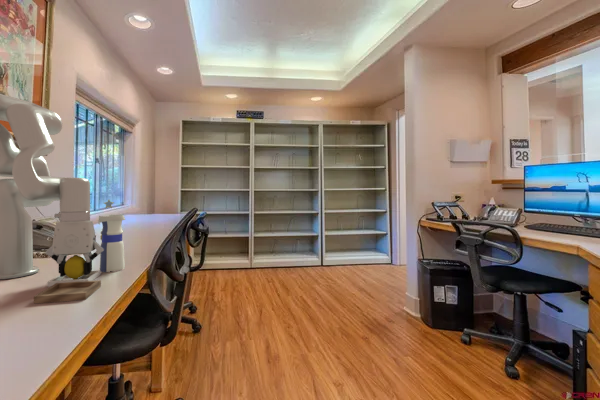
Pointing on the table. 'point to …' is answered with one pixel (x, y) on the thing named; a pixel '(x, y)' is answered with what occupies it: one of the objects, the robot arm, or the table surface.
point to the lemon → (74, 267)
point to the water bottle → (111, 242)
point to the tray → (67, 291)
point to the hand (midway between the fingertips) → (75, 274)
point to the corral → (57, 280)
